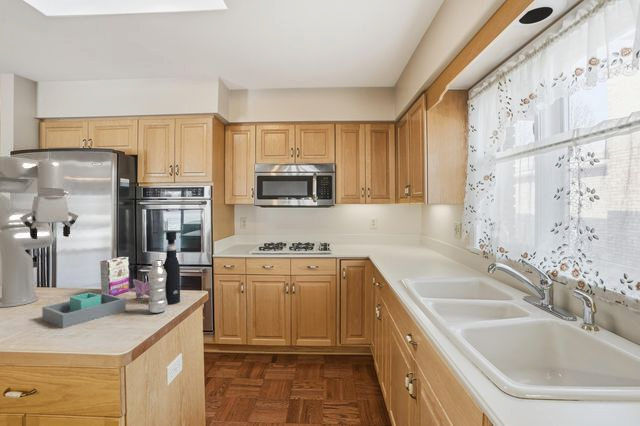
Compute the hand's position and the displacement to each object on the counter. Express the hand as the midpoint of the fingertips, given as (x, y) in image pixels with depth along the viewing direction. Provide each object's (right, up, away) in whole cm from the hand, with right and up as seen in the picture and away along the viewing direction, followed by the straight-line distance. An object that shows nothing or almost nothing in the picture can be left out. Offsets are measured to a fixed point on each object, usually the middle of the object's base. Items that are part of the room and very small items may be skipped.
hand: (50, 237), depth 116 cm
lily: (+27, -29, +15) cm, 42 cm away
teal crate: (+16, -28, -3) cm, 32 cm away
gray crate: (+16, -29, -3) cm, 33 cm away
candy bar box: (+9, -28, +24) cm, 38 cm away
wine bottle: (+41, -29, +12) cm, 51 cm away
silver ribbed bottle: (+42, -29, 0) cm, 51 cm away
